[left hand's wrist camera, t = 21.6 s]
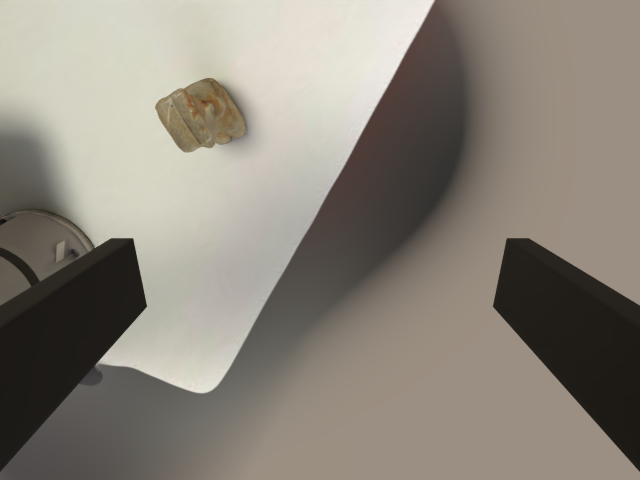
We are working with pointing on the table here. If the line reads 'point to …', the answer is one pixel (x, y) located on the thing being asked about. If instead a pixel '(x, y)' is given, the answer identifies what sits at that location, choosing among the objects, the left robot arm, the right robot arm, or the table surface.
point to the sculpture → (200, 116)
